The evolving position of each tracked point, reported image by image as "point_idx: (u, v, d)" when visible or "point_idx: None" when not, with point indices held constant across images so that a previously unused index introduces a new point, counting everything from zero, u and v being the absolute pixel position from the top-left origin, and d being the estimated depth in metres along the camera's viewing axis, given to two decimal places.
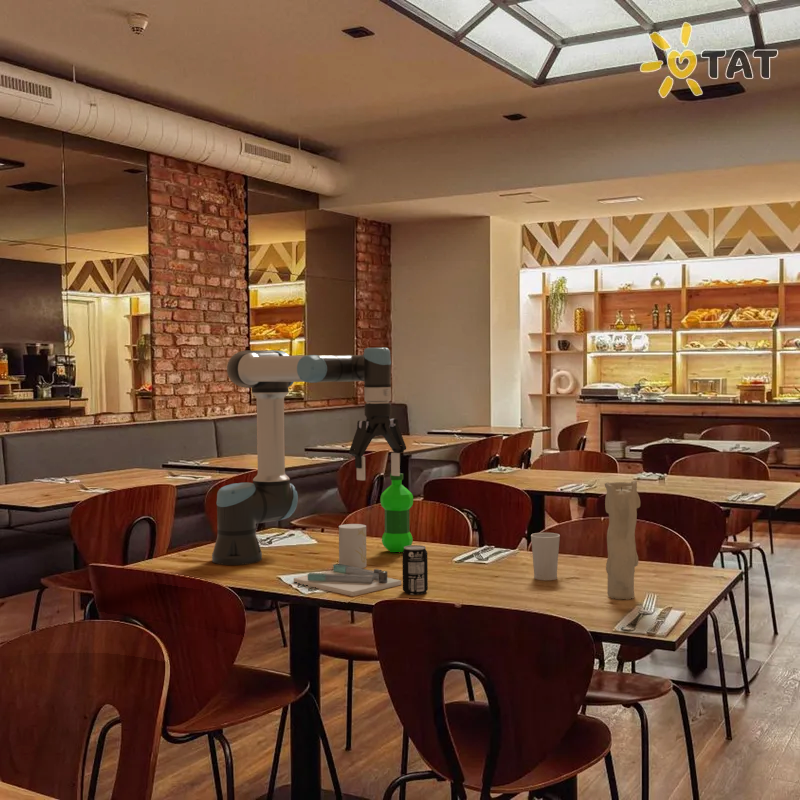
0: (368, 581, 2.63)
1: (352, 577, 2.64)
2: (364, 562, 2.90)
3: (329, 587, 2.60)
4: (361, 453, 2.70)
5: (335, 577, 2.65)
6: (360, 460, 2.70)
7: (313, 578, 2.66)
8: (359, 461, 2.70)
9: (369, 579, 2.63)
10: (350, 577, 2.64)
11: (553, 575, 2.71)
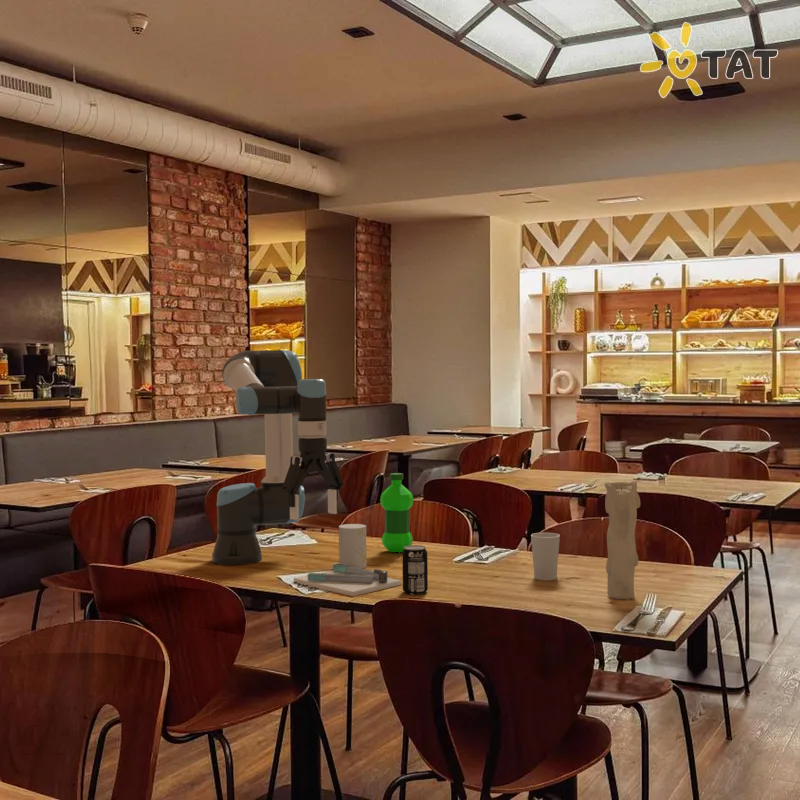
0: (368, 581, 2.63)
1: (352, 577, 2.64)
2: (364, 562, 2.90)
3: (329, 587, 2.60)
4: (294, 491, 2.55)
5: (335, 577, 2.65)
6: (293, 498, 2.56)
7: (313, 578, 2.66)
8: (292, 499, 2.55)
9: (369, 579, 2.63)
10: (350, 577, 2.64)
11: (553, 575, 2.71)
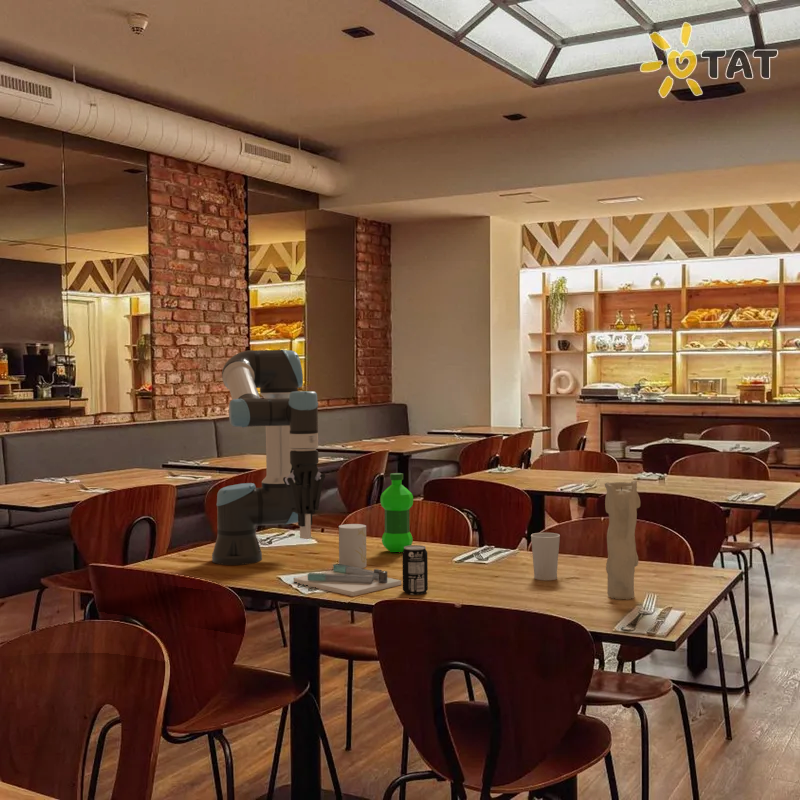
0: (368, 581, 2.63)
1: (352, 577, 2.64)
2: (364, 562, 2.90)
3: (329, 587, 2.60)
4: (303, 511, 2.58)
5: (335, 577, 2.65)
6: (303, 518, 2.59)
7: (313, 578, 2.66)
8: (302, 519, 2.59)
9: (369, 579, 2.63)
10: (350, 577, 2.64)
11: (553, 575, 2.71)
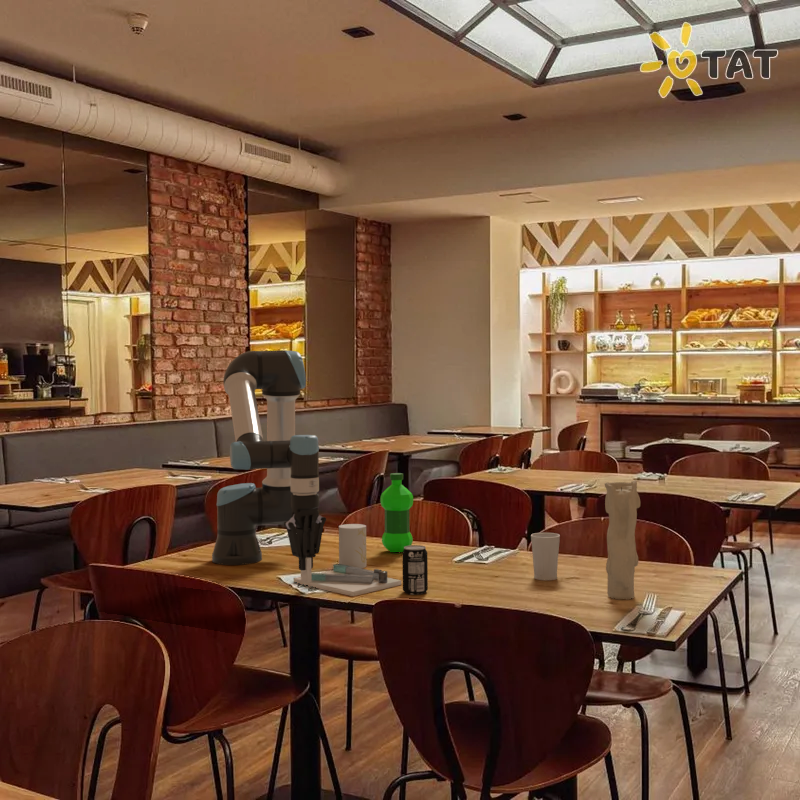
0: (368, 581, 2.63)
1: (352, 577, 2.64)
2: (364, 562, 2.90)
3: (329, 587, 2.60)
4: (304, 555, 2.59)
5: (335, 577, 2.65)
6: (304, 561, 2.59)
7: (313, 578, 2.66)
8: (303, 563, 2.59)
9: (369, 579, 2.63)
10: (350, 577, 2.64)
11: (553, 575, 2.71)
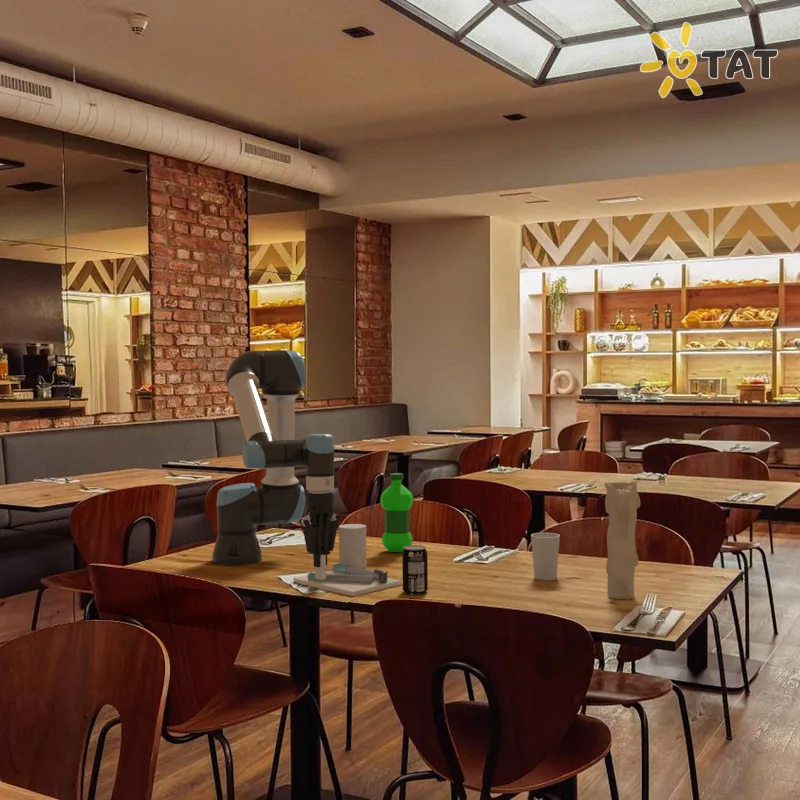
0: (368, 581, 2.63)
1: (352, 577, 2.64)
2: (364, 562, 2.90)
3: (329, 587, 2.60)
4: (319, 552, 2.63)
5: (335, 577, 2.65)
6: (318, 559, 2.63)
7: (313, 578, 2.67)
8: (317, 560, 2.63)
9: (369, 578, 2.63)
10: (350, 577, 2.64)
11: (553, 575, 2.71)
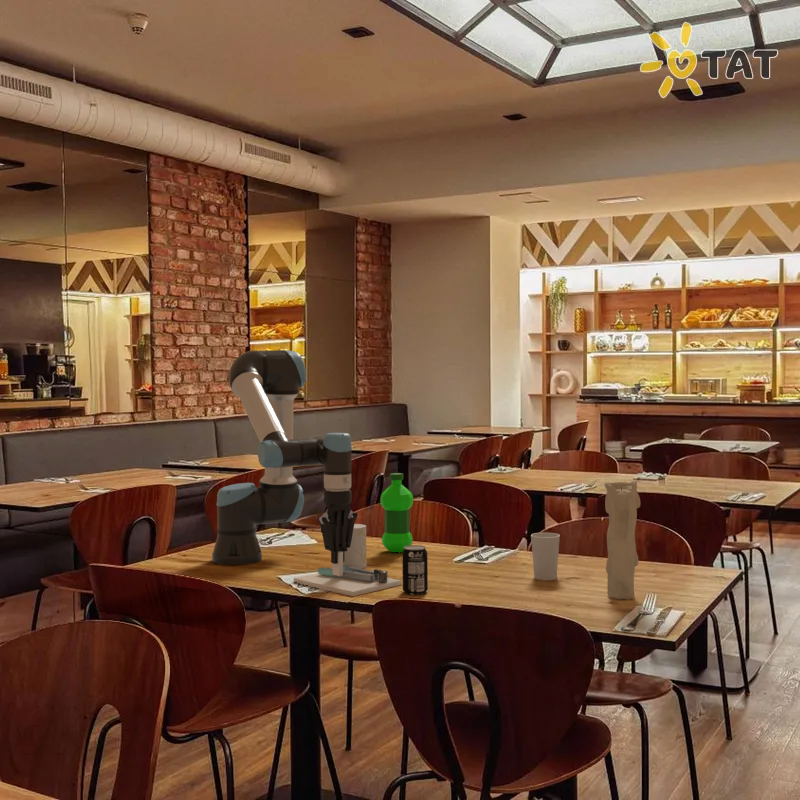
0: (367, 580, 2.65)
1: (354, 574, 2.67)
2: (364, 562, 2.90)
3: (329, 587, 2.60)
4: (336, 549, 2.67)
5: None
6: (336, 555, 2.68)
7: (323, 572, 2.73)
8: (335, 557, 2.68)
9: (368, 577, 2.65)
10: (352, 574, 2.68)
11: (553, 575, 2.71)
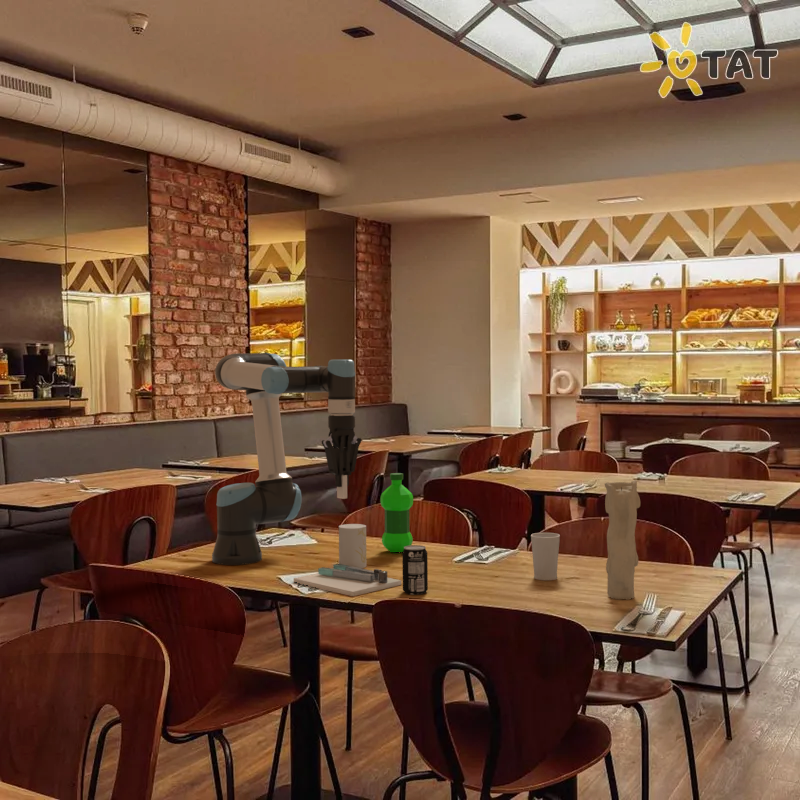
0: (367, 580, 2.65)
1: (354, 574, 2.67)
2: (364, 562, 2.90)
3: (329, 587, 2.60)
4: (340, 472, 2.74)
5: (340, 573, 2.70)
6: (340, 479, 2.75)
7: (323, 572, 2.73)
8: (339, 480, 2.74)
9: (368, 577, 2.65)
10: (352, 574, 2.68)
11: (553, 575, 2.71)
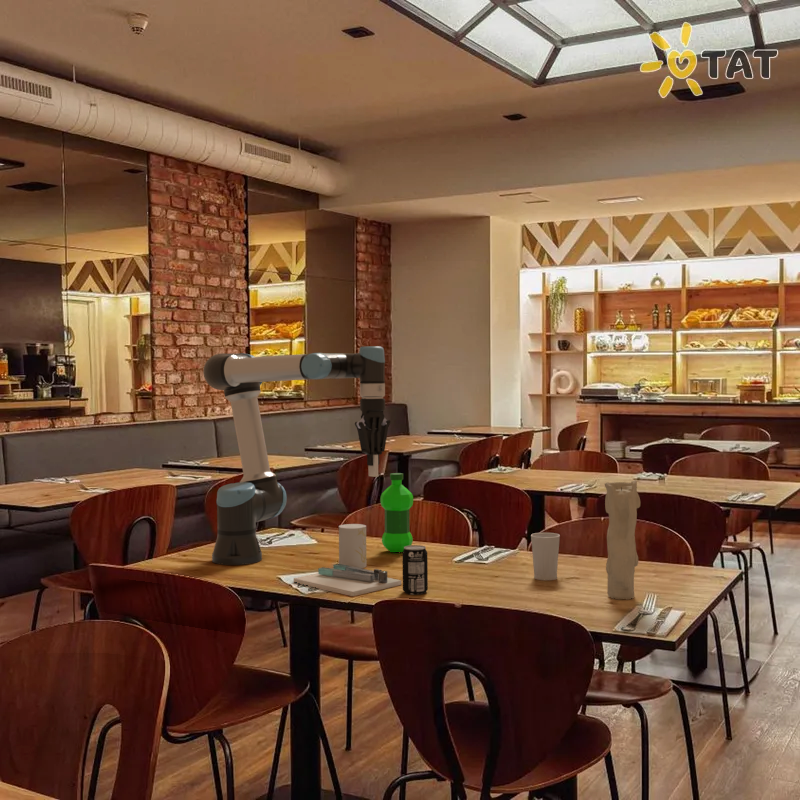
0: (367, 580, 2.65)
1: (354, 574, 2.67)
2: (364, 562, 2.90)
3: (329, 587, 2.60)
4: (372, 452, 2.93)
5: (340, 573, 2.70)
6: (372, 458, 2.93)
7: (323, 572, 2.73)
8: (371, 459, 2.93)
9: (368, 577, 2.65)
10: (352, 574, 2.68)
11: (553, 575, 2.71)
